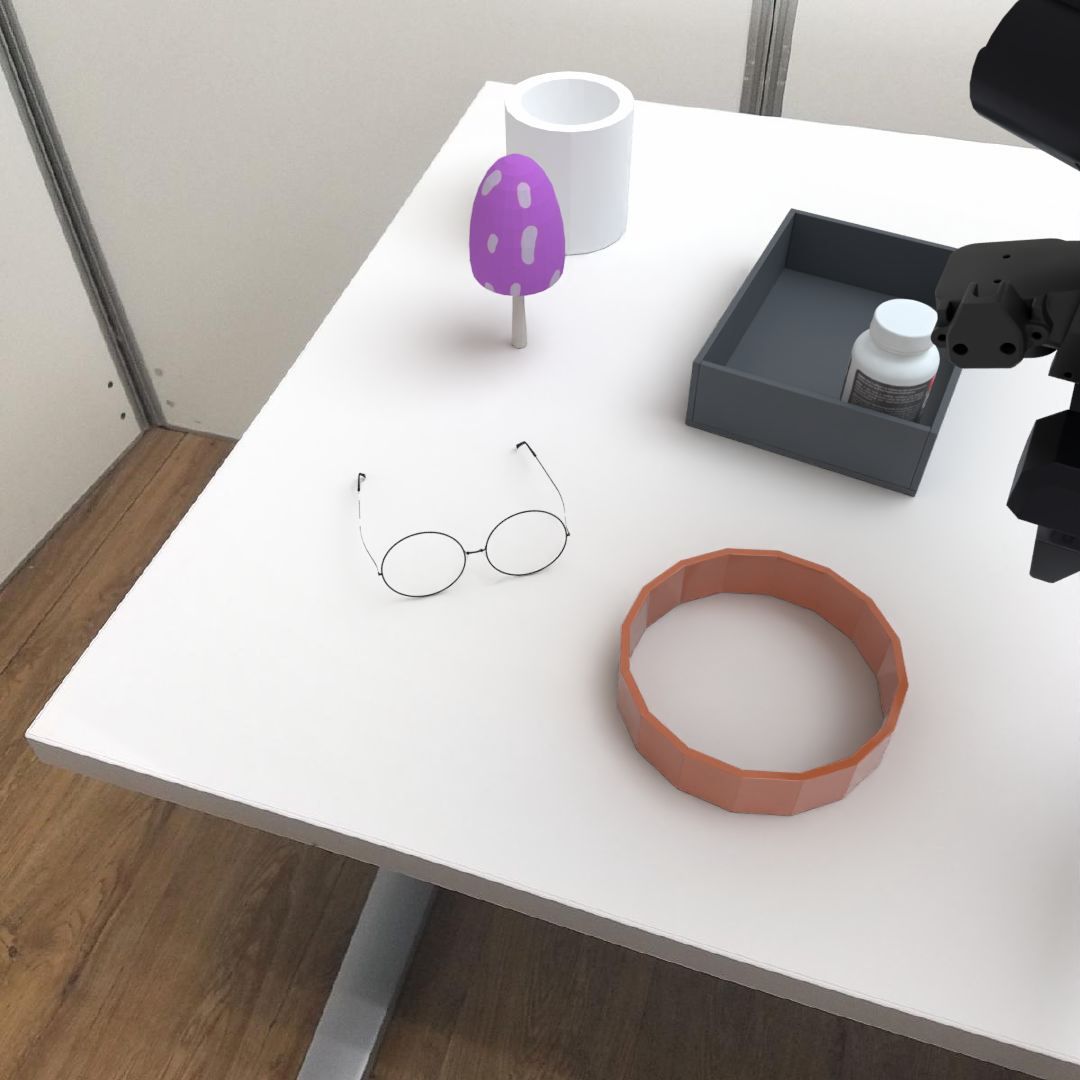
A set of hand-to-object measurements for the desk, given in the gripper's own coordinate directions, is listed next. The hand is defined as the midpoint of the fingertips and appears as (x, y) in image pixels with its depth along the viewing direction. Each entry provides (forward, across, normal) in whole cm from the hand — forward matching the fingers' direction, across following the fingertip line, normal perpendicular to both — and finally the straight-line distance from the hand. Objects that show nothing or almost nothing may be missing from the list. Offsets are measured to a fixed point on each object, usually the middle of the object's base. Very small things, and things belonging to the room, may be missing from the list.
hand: (1057, 512), depth 52 cm
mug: (+12, -32, -41) cm, 53 cm away
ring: (+12, +8, -11) cm, 18 cm away
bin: (+12, -22, -14) cm, 29 cm away
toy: (+12, -14, -37) cm, 41 cm away
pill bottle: (+12, -15, -10) cm, 22 cm away
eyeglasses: (+12, +4, -32) cm, 34 cm away
